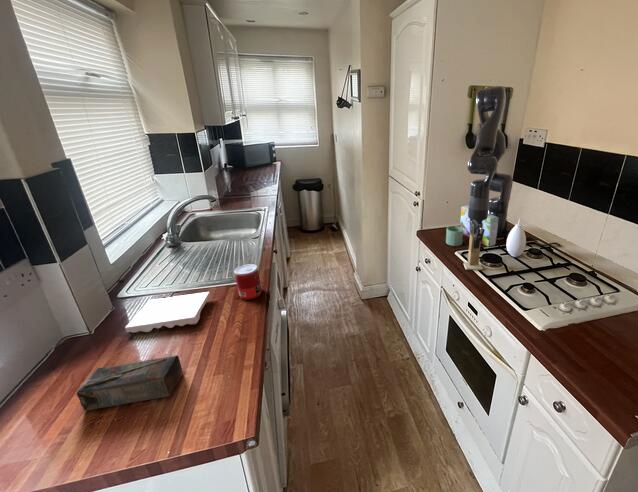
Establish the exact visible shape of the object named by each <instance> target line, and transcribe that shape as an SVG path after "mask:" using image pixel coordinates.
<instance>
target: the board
mask: <svg viewBox="0 0 638 492" xmlns="http://www.w3.org/2000/svg"><path fill="white" fill-rule="evenodd" d="M462 265H463V267H464V269H465V271H483V270H484V268H483V266H482V264H481V263H480V262H479V264H478V266H471V265H469V263H468V262H463V264H462Z"/></svg>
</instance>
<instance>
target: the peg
mask: <svg viewBox="0 0 638 492" xmlns="http://www.w3.org/2000/svg"><path fill="white" fill-rule="evenodd" d="M468 244H469V245H468V253H467V263H469V265H471V266H478V264H479V263H480V253H481V244H482V243H481V241H480V244H479V248H478V249H474V248H473V245H474V234H470V237H469V242H468Z"/></svg>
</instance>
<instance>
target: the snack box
mask: <svg viewBox="0 0 638 492" xmlns="http://www.w3.org/2000/svg"><path fill="white" fill-rule="evenodd" d="M468 208H469V204H468V205H463V206H461V208H460V221H459V223H460V224H459V227H462V228H463V229H464V231H463V235H464V236H466V237H468V238H470V234H471V232H470V218H468ZM482 223H483V228H482V229H484V230H485V231H484V235H483V239H482V241H481V244H482V245H483V246H485V247H488V248H489V247H493V246H496V244H497V240H496V236H497V227H498V217H496V216H494V215H491V214H489V213H488V217H487V219H486V220H483V221H482Z"/></svg>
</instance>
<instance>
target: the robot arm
mask: <svg viewBox="0 0 638 492" xmlns="http://www.w3.org/2000/svg"><path fill="white" fill-rule="evenodd" d="M506 100H507V93H506V89H505V87H504V86H502V85H499V86H498V85H497V86H492V87H487V88H481V89H478V90H477V91H476V95H475V102H476V103H475V104H476V108H477V113H478V118H479V123H480V128H479V130H478V133H477V136H476V140H475V147H474V149H473V151H472V153H471V155H470V157H469V159H468V162H467V171H468V172H469V173H470V174H472V175H482V176H484V177H483V178H481V179H475V180H472V181H471V184H470V192H469V199H468V205H469V208H468V218H470V232H471V234H474V245H473V248H474V249H478V248H479V244H480V241H482V239H483V235H484V231H485V230H484V229H482V228H483V223H482V221H483V220H486V219H487V217H488V213H489V214H491V215H494V216H496V217H498V227H497V236H496V241H501V240H507V236H508V235H509V233H510V231H511V230H512V229H510V228H509V226H508V223H509V222H508V220H507V218H508V212H509V211H508V210H509V204H510V199H511V193H512V189H513V183H514V181H513V180H514V178H513V176H512V175H511V174H508V173H501V172H498V171H497V169H498V165H499V163H500V161H501V160H502V158H503V157H504V155H505V153H506V149H507V148H506V147H507V146H506V136H505V135H504V133H503V132H502V130H501V129H500V128H499V126H500V123H501V120H502V117H503V113H504V110H505V106H506V102H507V101H506ZM490 112H492V113H491V114H490V115H489V113H490ZM490 191H491V192H496V193H500V194H499V196H494V197H491V198H490ZM526 240H533V241H534V243H535V244H536V245H537V246H540V247H548V246H553V245H556V246H558V247H562V245H561V244H560V243H559V242H549V243H545V244H544V243H539V242H538V241H537V239H536V238H534V237H531V236H526ZM558 243H559V244H558ZM480 245H481V244H480Z"/></svg>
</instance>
